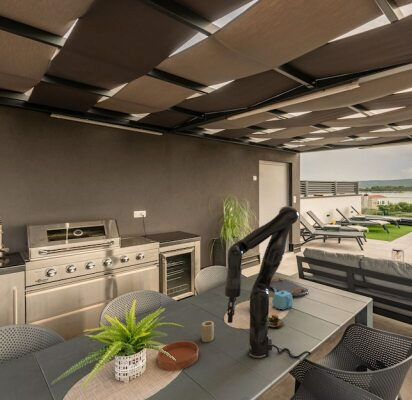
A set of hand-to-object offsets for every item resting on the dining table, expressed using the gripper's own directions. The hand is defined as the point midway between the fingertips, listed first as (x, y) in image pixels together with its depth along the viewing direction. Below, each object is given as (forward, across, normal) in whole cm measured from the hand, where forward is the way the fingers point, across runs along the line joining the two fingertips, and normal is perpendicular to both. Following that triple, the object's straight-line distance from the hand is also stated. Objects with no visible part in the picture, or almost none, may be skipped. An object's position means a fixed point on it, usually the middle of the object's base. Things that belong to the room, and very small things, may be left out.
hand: (231, 318), depth 134 cm
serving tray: (+14, +93, -36) cm, 101 cm away
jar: (+18, +15, +13) cm, 27 cm away
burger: (+16, +32, -23) cm, 42 cm away
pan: (+19, -3, +23) cm, 30 cm away
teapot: (+15, +59, -29) cm, 68 cm away
